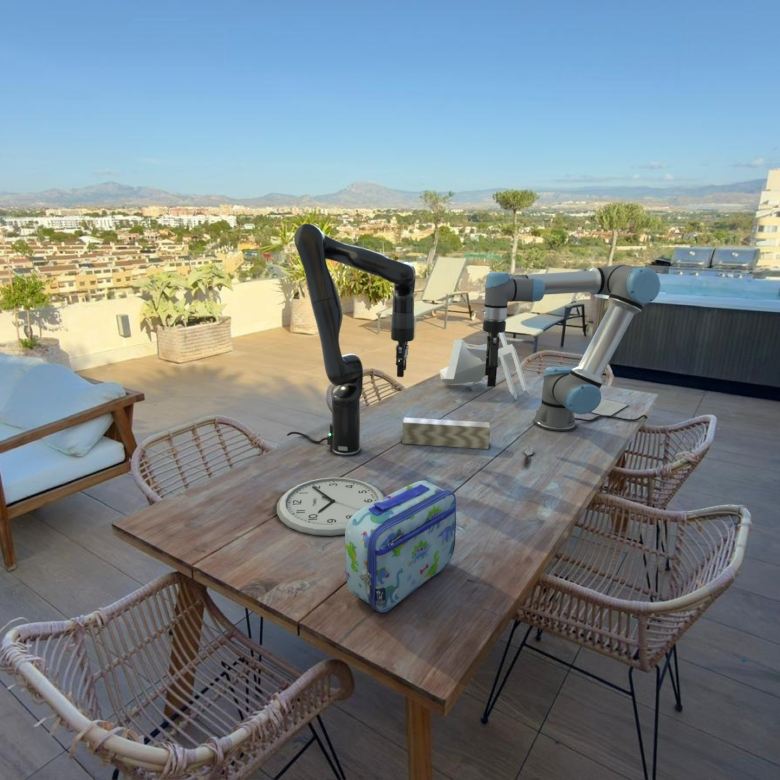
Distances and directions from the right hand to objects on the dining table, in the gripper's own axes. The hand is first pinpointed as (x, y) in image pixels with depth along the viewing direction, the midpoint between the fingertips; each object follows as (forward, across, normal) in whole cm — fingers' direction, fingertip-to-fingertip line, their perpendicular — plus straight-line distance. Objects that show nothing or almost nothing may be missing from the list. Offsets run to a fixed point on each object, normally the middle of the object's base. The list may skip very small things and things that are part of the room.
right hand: (489, 380), depth 181 cm
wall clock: (+23, +52, -44) cm, 72 cm away
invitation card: (+23, -47, +52) cm, 74 cm away
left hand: (-3, +8, -30) cm, 31 cm away
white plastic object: (+23, -59, 0) cm, 63 cm away
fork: (+23, +13, +13) cm, 29 cm away
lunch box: (+23, +82, -22) cm, 88 cm away
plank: (+23, +4, -14) cm, 27 cm away
